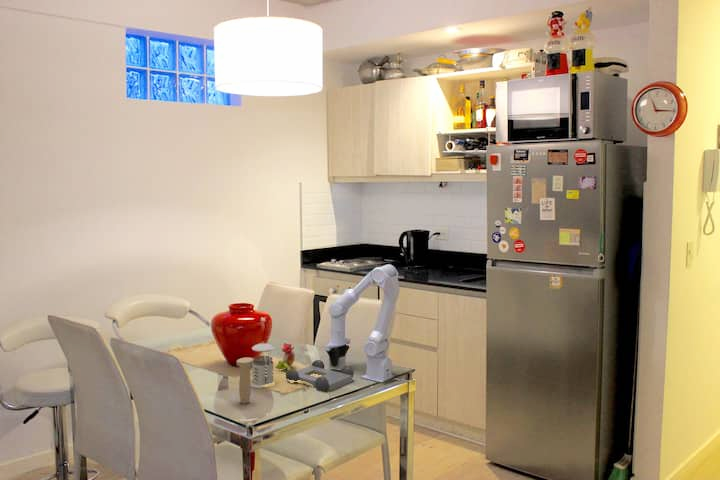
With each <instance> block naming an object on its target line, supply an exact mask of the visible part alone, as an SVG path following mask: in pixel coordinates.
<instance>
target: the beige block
mask: <svg viewBox="0 0 720 480" xmlns="http://www.w3.org/2000/svg"><path fill="white" fill-rule="evenodd" d="M346 357H347V356H344V355H339V354H338V359H337V366H336V367H335V366H331V361H330V358H329V359H328V361H329V362H328V363H329V369H331V370H334V371H335V370H336V371H338V372H339V371H340V372H341V369H342V368H344V367H346V364H347V363H346Z"/></svg>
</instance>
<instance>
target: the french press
mask: <svg viewBox="0 0 720 480" xmlns="http://www.w3.org/2000/svg"><path fill="white" fill-rule="evenodd" d="M260 322H262V325H264V323H265V322H267V321H266V318H265V317H262V318H260ZM251 349H252V351H253V352H258V353H268V352H271V351H273V350H274V349H275V347H274V346H273V345H271V344H270V343H265V342H261V343H260V342H259V343H258V344H255V345H253V346H252V347H251ZM252 358H253V359H254V362H253V364H252V365H251V367H252V368H251V369H252V370H251V371H252V373H251V374H252V375H251V377H252V379H251V381H252V382H251V388H257V389H262V388H261V385H265V384H269V383H272V382H273V381H274V361H273V357H272V356H270V354H269V353H268V355H265V354H263V355H257V356H254V357H252Z"/></svg>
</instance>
